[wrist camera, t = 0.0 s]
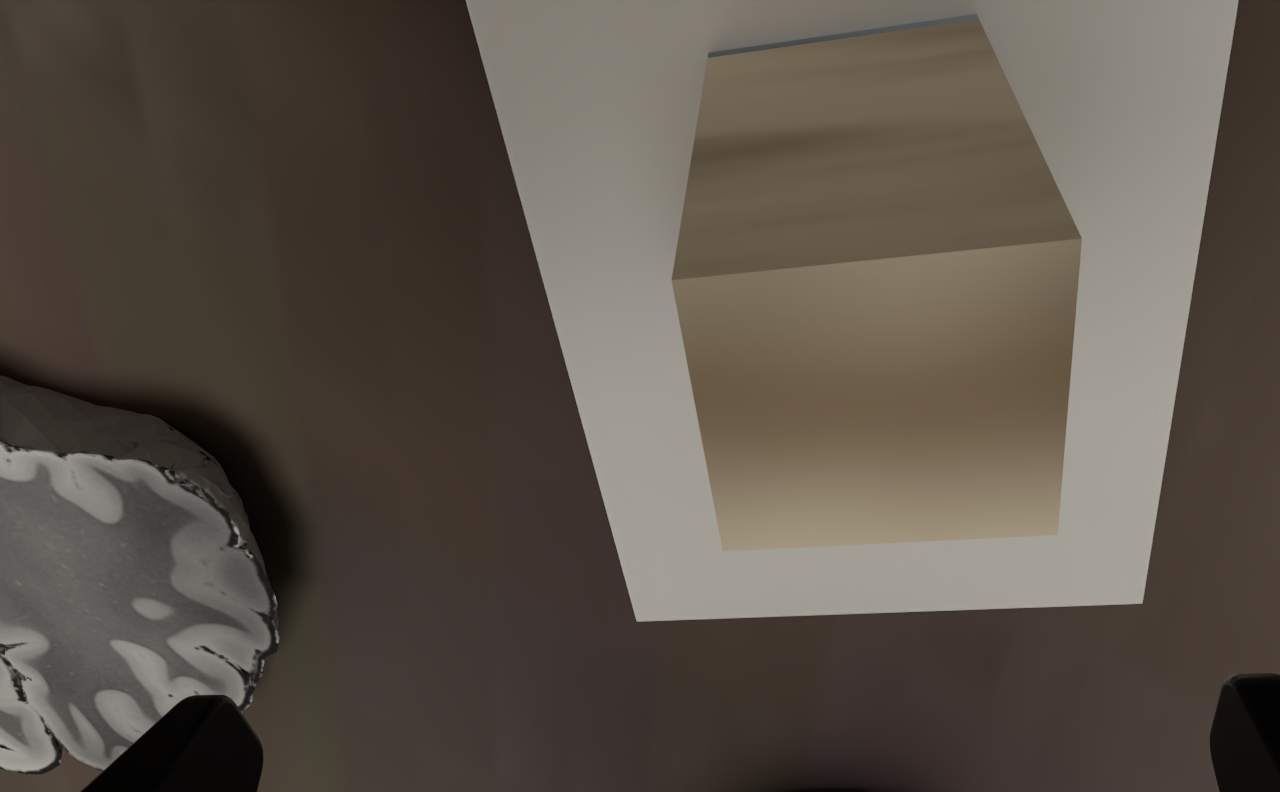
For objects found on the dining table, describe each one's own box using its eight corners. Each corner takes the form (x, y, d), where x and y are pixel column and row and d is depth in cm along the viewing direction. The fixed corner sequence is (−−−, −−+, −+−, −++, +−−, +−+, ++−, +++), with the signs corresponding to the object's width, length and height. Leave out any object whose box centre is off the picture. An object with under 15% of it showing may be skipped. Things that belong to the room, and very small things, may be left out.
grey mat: (1138, 592, 28) (1142, 603, 28) (638, 610, 31) (636, 621, 31) (1269, -258, 16) (1279, -256, 16) (443, -106, 19) (437, -101, 19)
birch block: (973, 250, 22) (1057, 534, 15) (740, 273, 23) (722, 551, 16) (976, 14, 19) (1082, 238, 12) (708, 52, 20) (671, 280, 13)
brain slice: (-116, 690, 39) (-174, 760, 36) (-425, 310, 29) (-533, 374, 26) (383, 720, 36) (356, 797, 34) (244, 318, 26) (190, 389, 24)
